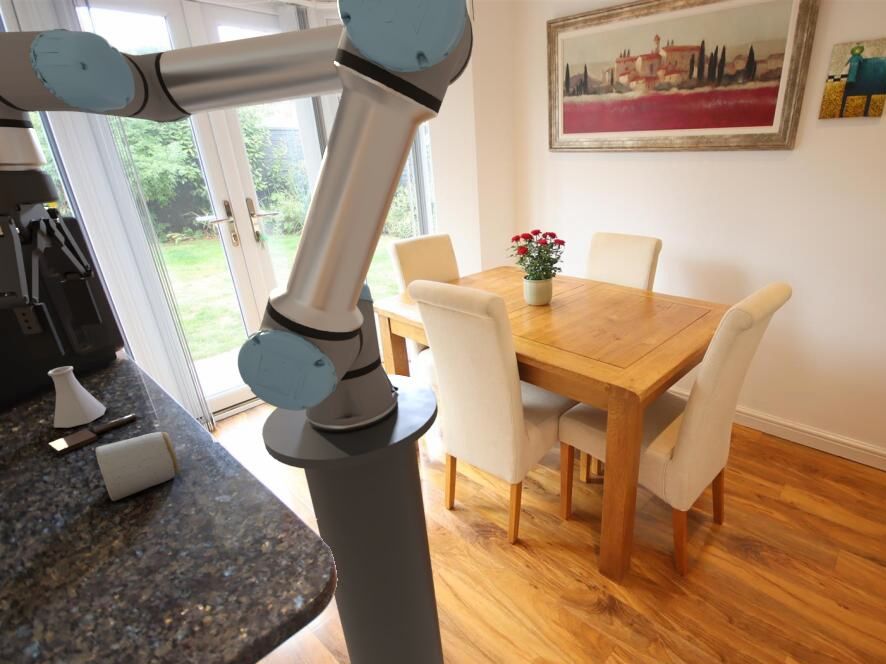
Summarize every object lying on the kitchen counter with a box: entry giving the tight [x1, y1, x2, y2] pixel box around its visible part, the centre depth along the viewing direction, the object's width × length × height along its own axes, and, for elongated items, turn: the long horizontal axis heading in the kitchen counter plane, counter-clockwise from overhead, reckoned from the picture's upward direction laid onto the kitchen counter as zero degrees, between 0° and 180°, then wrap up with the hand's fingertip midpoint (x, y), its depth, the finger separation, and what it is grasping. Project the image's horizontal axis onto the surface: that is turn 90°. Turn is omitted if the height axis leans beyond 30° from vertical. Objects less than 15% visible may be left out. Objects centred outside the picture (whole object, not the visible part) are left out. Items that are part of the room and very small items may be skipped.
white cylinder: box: [95, 431, 181, 502], centre depth 66 cm, size 11×8×8 cm
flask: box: [47, 365, 107, 429], centre depth 83 cm, size 7×7×10 cm
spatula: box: [48, 413, 138, 456], centre depth 79 cm, size 12×4×1 cm, turn 149°
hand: (71, 339), depth 61 cm, fingers open, 13 cm apart
